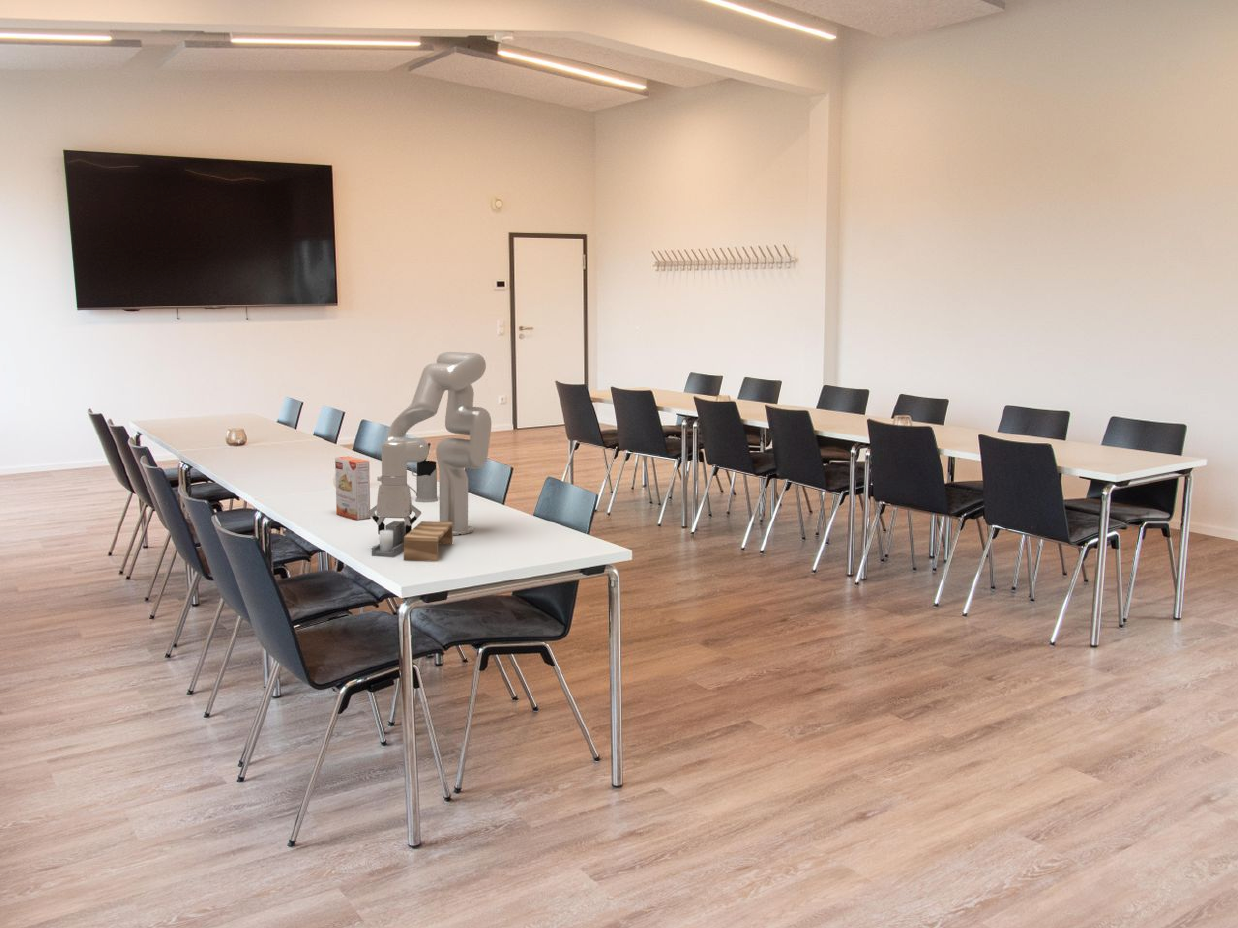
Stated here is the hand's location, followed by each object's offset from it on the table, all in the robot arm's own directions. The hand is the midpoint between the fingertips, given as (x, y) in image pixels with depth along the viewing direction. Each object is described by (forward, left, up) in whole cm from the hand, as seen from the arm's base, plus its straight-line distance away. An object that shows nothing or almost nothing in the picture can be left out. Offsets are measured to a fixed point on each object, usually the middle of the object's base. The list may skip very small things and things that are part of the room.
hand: (395, 536), depth 329 cm
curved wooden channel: (+2, +11, -4) cm, 12 cm away
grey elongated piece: (0, 0, -4) cm, 4 cm away
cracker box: (-48, -27, -4) cm, 55 cm away
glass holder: (-84, -11, -4) cm, 85 cm away
